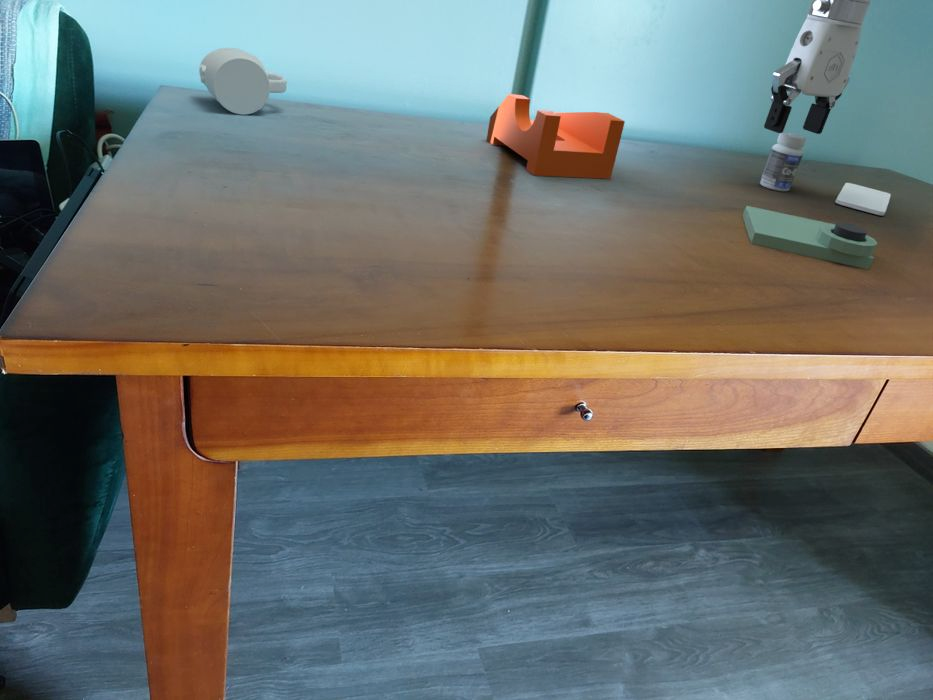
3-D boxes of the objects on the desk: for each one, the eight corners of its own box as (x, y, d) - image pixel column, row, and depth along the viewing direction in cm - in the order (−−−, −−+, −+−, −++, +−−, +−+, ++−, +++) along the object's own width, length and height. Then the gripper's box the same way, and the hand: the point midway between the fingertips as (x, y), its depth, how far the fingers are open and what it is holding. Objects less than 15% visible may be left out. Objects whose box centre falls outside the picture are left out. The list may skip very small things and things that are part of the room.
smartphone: (835, 199, 114) (845, 182, 126) (833, 203, 114) (844, 186, 126) (885, 212, 111) (891, 193, 123) (883, 217, 111) (889, 198, 123)
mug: (208, 113, 105) (206, 54, 102) (200, 98, 113) (198, 42, 109) (291, 117, 110) (293, 62, 107) (278, 102, 118) (279, 50, 114)
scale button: (859, 236, 90) (863, 226, 90) (866, 245, 87) (870, 235, 87) (829, 230, 91) (833, 219, 90) (835, 239, 88) (839, 228, 87)
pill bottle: (778, 193, 115) (798, 139, 111) (753, 183, 118) (771, 131, 114) (795, 191, 118) (814, 139, 114) (769, 181, 121) (788, 130, 117)
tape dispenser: (610, 178, 107) (624, 121, 103) (533, 175, 102) (545, 115, 98) (556, 144, 121) (566, 92, 117) (486, 140, 117) (495, 86, 113)
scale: (849, 239, 98) (858, 218, 97) (872, 273, 87) (883, 249, 86) (742, 216, 100) (749, 195, 99) (751, 246, 89) (759, 223, 88)
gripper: (823, 11, 98) (776, 137, 107) (893, 22, 107) (845, 138, 116) (778, 2, 104) (737, 123, 112) (849, 13, 113) (806, 125, 121)
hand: (792, 131), depth 114 cm, fingers open, 9 cm apart
